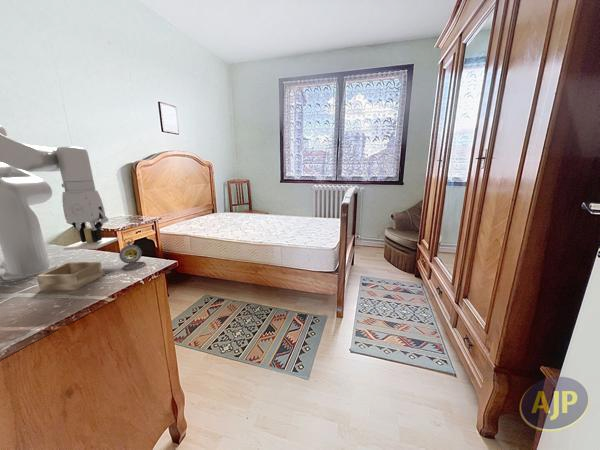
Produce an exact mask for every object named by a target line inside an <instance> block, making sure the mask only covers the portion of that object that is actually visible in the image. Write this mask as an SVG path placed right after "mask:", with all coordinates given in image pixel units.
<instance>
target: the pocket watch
mask: <svg viewBox="0 0 600 450" xmlns="http://www.w3.org/2000/svg"><path fill="white" fill-rule="evenodd" d="M126 240H128V241H126ZM130 240H131V241H130ZM133 240H134V239H133V238H129V237H128V238H125V239H124V240H123V243H125V244H127V245H126V246H124V247H123V248H121V250H120V252H119V253H118V254H119V256H118V257H119V259H120V261H121V262H123V263H125V264H126V265H123V267H122V268H123V270H125V271H133V270H138V269H141V268H143V267H145V266H146V262H145V261H140V259H141V257H142V255H143V251H142V249H141V248H140V247H139V246H138V245H135V244H131V243H133ZM135 264H142V265H141V266H138V267H133V268H126V267H128V266H130V265H135Z"/></svg>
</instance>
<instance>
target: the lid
mask: <svg viewBox="0 0 600 450" xmlns="http://www.w3.org/2000/svg"><path fill="white" fill-rule="evenodd" d="M91 231H92V228H91V226H89V227H87V228H84V233H85V238H86V242H82V241H81V240H80V241H78V242H75V243H73V244H72V243H71V244H69V245H67V246H64V247H62V248H63V250H64V251H65V250H66V251H68V250H69V251H70V250H97V249H99V248H102V247H104V246H107V245H109V244H112V243H114V242H117V241H119V237H102V240H100V241H97V242H93V240H92V236H91Z"/></svg>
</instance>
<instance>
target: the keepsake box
mask: <svg viewBox="0 0 600 450" xmlns="http://www.w3.org/2000/svg"><path fill="white" fill-rule="evenodd" d="M103 275H104V273H103V269H102V263H101V262H100V261H90V262H89V261H85V262H83V261H81V262H80V261H79V262H67V263H64V264H62V265H60V266H57V267H56V268H54V269H52V270H50V271H47V272H45V273H42V274H40V275H36V280H37V283H38V287H39V291H43V292H44V291H77V290H79V289H80V288H83V287H84V286H86V285H87V284H89V283H91V282H94V281H95V280H97V279H98V278H100V277H102V276H103Z"/></svg>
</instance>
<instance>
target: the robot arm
mask: <svg viewBox="0 0 600 450" xmlns="http://www.w3.org/2000/svg"><path fill="white" fill-rule="evenodd" d="M7 133H8V132H7V130H6V128H5V127H4V126H2V125H1V124H0V249H1V253H2V255H3V259H4V261H2V263H1V264H0V270H1V269H3V270H4V271H5V272H4V273H3V274H2V275H1V279H2V280H4V281H10V280H11V281H12V280H21V279H25V278H26V279H27V278H32V277H35V276H36V277H37V276H38V275H40V274H42V273H45V272H47V271H50V270H52V269H54V268H57V267H58V265H57V264H56V262H50V259H49V256H48V252H47V248H46V243H45V241H44V235H43V232H42V229H41V225H40V220H39V219H38V216H37V214H36V213H35V212H34V210H33V209H32V208H31V207H30V206H34V205H39V204H40V205H41V204H43V203H45V202H48V201H49V200H50V199H51V198H52V195H53V190H52V187H51V186H50V184H49V183H48V182H47V181H46V180H44V179H42V178H40V177H39V176H36V175H34V174H33V173H32V172H37V173H40V172H45V173H46V172H53V173H54V172H60V176H61V179H62V184H61V187H62V188H63V189H64V191H62V194H61V195H62V196H61V197H62V201H61V202H62V208H63V214H64V215H63V216H64V219H65V221H66V224H68V225H70V226H72V227H74V228H75V229H76V231H77V232H79V236H80V239H81V240H80V241H82V242H86V238H85V233H84V228H88V227H87V223H89V225H90V227H91V228H92V231H91V236H92V240H93V242H97V241H100V240H102V238H103V237H102V234H101V233H102V232H101V229H102V228H103V225H104V224H106V223H108V222H109V221H110V220H109V218H108V217H107V215H106V211H105V207H104V203H103V201H102V198H101V196H100V193H99V191H98V190H97V189H96V186H95V180H94V177H93V172H92V171H93V170H92V166H91V162H90V157H89V152H88V150H87V149H85V148H83V147H80V146H79V147H78V146H59V147H52V146H51V147H50V146H49V147H48V146H42V145H41V146H40V145H33V144H26V143H23V142H21V141H18V140H15V139H12V138H10V137H8V134H7ZM29 172H31V173H29Z"/></svg>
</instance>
